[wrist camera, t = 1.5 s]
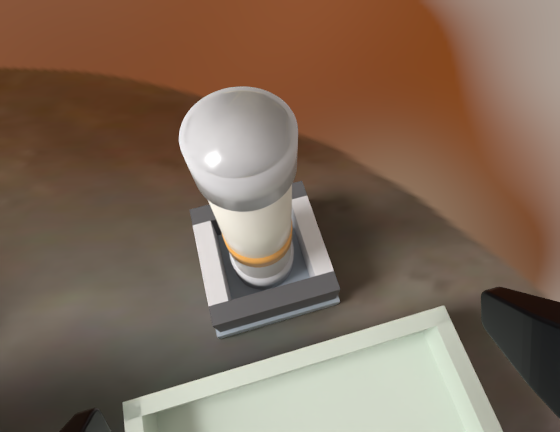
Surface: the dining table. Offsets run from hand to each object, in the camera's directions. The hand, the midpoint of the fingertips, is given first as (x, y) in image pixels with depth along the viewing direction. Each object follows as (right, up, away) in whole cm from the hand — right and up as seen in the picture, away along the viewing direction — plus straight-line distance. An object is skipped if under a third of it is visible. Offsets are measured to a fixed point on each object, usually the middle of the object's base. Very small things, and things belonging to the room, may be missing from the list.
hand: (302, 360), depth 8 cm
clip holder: (-1, 0, +14) cm, 14 cm away
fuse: (-1, +1, +13) cm, 13 cm away
